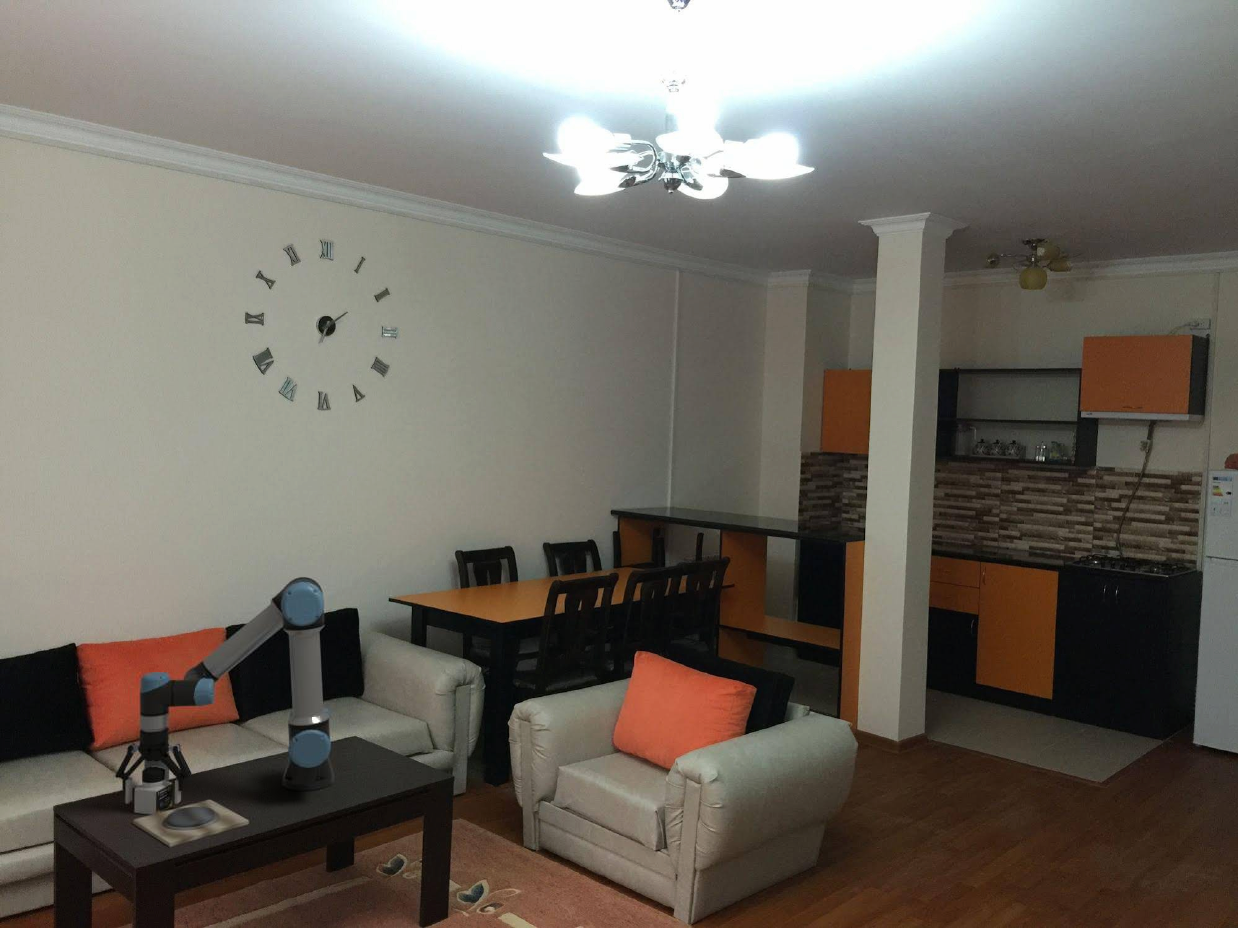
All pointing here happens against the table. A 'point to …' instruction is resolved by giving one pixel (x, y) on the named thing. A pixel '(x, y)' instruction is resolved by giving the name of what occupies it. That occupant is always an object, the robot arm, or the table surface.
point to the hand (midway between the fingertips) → (153, 801)
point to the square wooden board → (190, 822)
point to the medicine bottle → (153, 792)
